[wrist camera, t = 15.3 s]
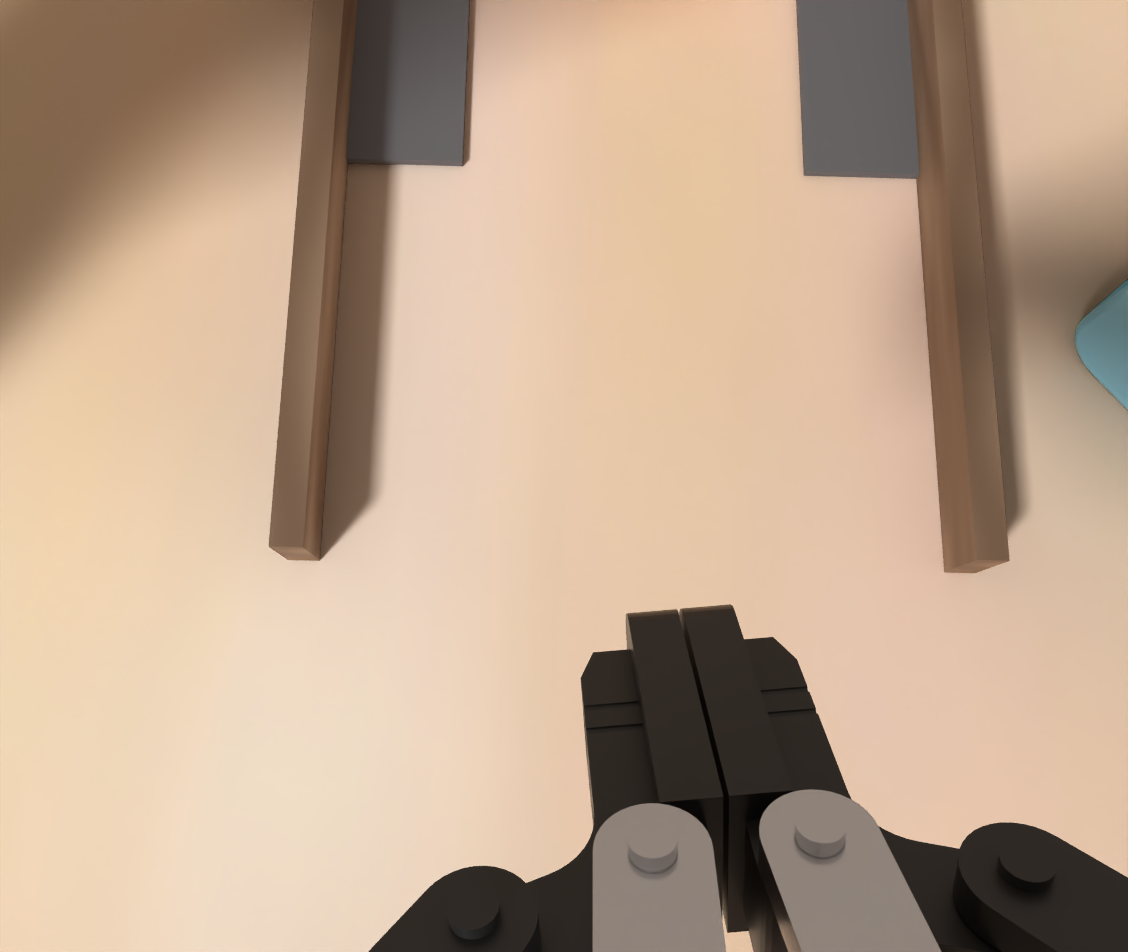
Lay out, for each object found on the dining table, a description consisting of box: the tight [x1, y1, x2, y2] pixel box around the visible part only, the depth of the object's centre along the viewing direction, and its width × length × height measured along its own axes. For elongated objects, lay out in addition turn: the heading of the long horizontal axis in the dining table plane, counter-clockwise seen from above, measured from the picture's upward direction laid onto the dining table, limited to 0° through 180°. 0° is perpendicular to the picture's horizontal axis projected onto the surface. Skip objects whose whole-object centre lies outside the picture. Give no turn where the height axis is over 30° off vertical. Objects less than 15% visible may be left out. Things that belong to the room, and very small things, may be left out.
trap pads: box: [346, 0, 919, 179], centre depth 38 cm, size 20×8×1 cm, turn 89°
